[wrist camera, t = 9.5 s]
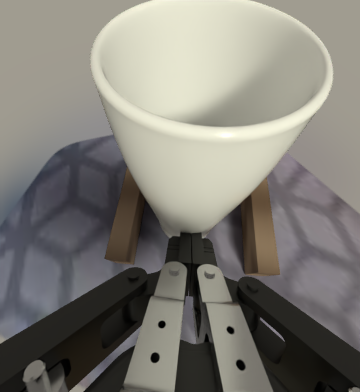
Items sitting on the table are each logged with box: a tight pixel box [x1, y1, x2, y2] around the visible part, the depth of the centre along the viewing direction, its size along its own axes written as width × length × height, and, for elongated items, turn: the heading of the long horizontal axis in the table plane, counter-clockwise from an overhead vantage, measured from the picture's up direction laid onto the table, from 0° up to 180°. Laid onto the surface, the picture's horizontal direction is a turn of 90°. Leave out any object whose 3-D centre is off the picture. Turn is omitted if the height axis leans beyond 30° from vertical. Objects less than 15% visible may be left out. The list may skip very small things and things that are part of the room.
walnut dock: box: [105, 167, 280, 276], centre depth 16 cm, size 11×13×6 cm
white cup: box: [90, 0, 333, 238], centre depth 12 cm, size 7×7×15 cm
